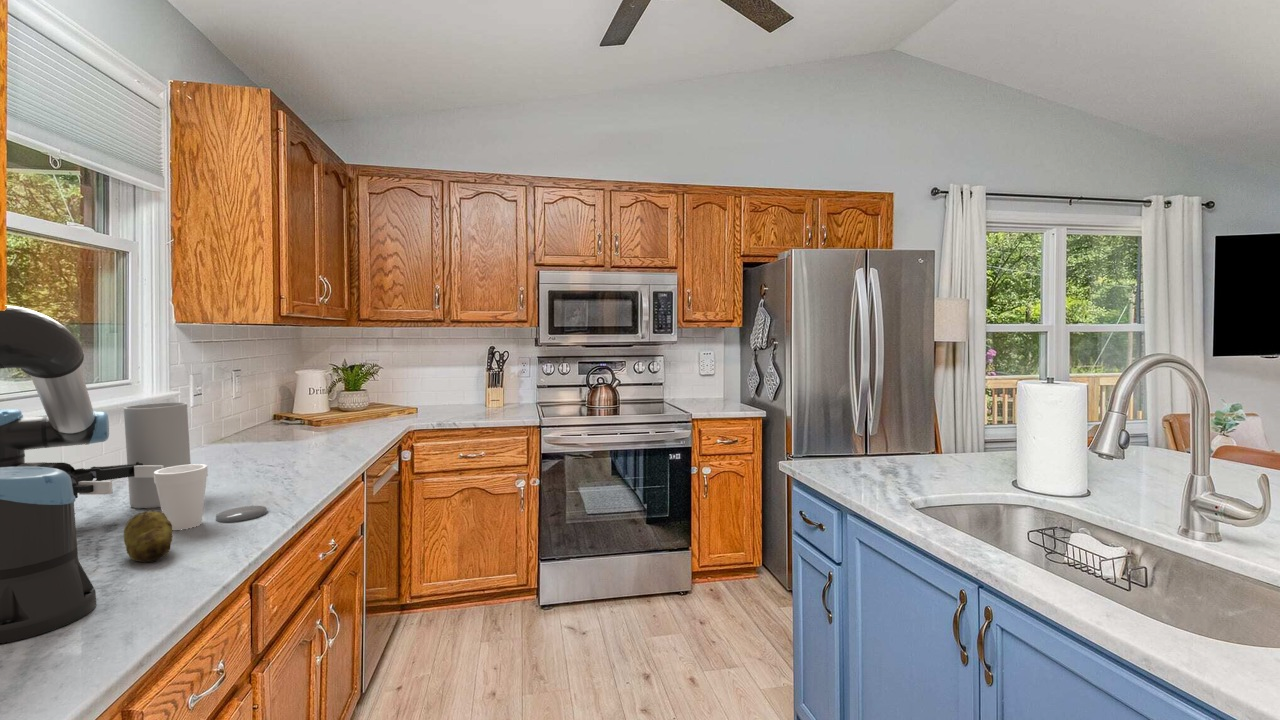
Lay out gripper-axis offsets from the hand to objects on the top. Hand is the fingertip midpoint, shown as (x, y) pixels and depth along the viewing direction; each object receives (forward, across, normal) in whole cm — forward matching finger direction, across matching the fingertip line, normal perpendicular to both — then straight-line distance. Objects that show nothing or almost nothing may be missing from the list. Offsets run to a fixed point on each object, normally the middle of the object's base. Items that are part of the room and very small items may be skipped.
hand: (138, 479), depth 133 cm
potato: (+17, +18, -11) cm, 27 cm away
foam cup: (+10, 0, -11) cm, 15 cm away
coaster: (+18, -7, -11) cm, 22 cm away
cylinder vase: (-11, -19, -11) cm, 24 cm away
